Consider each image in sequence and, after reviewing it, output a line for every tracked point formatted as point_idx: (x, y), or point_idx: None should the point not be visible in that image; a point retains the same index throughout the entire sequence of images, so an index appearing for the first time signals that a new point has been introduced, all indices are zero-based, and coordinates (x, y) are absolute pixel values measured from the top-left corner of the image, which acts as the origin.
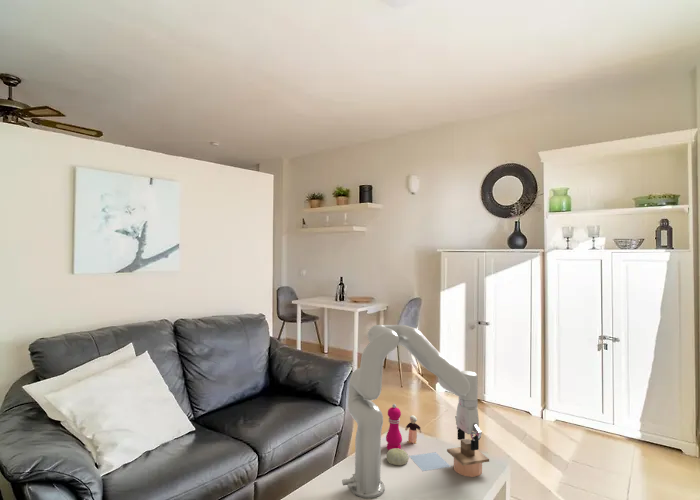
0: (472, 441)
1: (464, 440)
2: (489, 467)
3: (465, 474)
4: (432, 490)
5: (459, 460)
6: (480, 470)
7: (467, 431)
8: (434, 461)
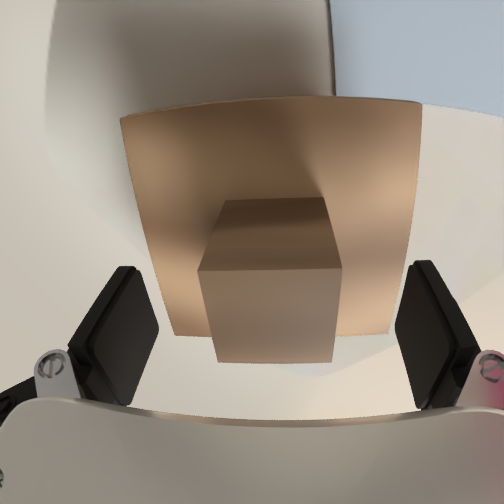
0: (80, 344)
1: (312, 304)
2: None
3: None
4: None
5: (176, 108)
6: None
7: (22, 431)
8: (427, 31)
